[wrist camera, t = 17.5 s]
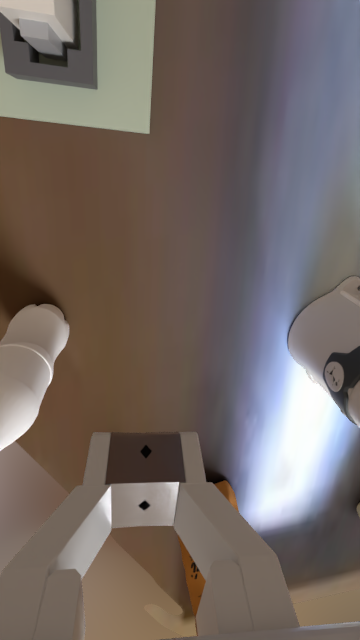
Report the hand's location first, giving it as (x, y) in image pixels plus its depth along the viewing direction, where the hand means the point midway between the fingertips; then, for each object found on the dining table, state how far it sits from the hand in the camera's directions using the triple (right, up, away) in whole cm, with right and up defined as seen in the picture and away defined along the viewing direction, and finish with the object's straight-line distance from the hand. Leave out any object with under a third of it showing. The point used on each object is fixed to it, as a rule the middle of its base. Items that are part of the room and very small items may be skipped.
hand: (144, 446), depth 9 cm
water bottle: (-18, +4, +35) cm, 40 cm away
